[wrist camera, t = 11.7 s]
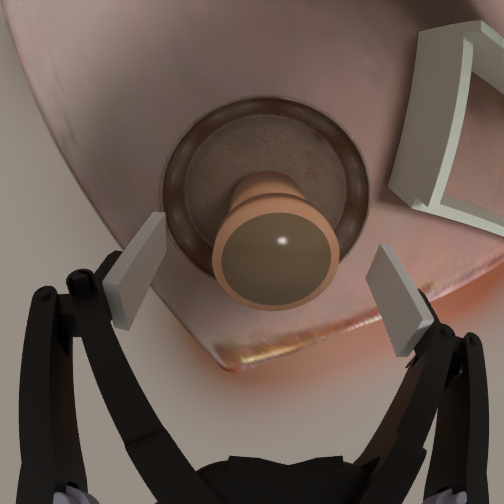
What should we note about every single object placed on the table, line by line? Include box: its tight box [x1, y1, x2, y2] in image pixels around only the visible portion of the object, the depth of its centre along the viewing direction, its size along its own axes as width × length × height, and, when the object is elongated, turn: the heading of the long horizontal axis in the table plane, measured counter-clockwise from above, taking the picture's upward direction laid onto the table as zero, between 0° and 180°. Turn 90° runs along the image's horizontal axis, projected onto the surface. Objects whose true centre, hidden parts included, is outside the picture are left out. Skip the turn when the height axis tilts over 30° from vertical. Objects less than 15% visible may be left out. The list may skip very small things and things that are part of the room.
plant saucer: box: [160, 95, 371, 281], centre depth 23 cm, size 18×18×3 cm
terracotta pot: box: [212, 171, 340, 311], centre depth 18 cm, size 7×7×8 cm
